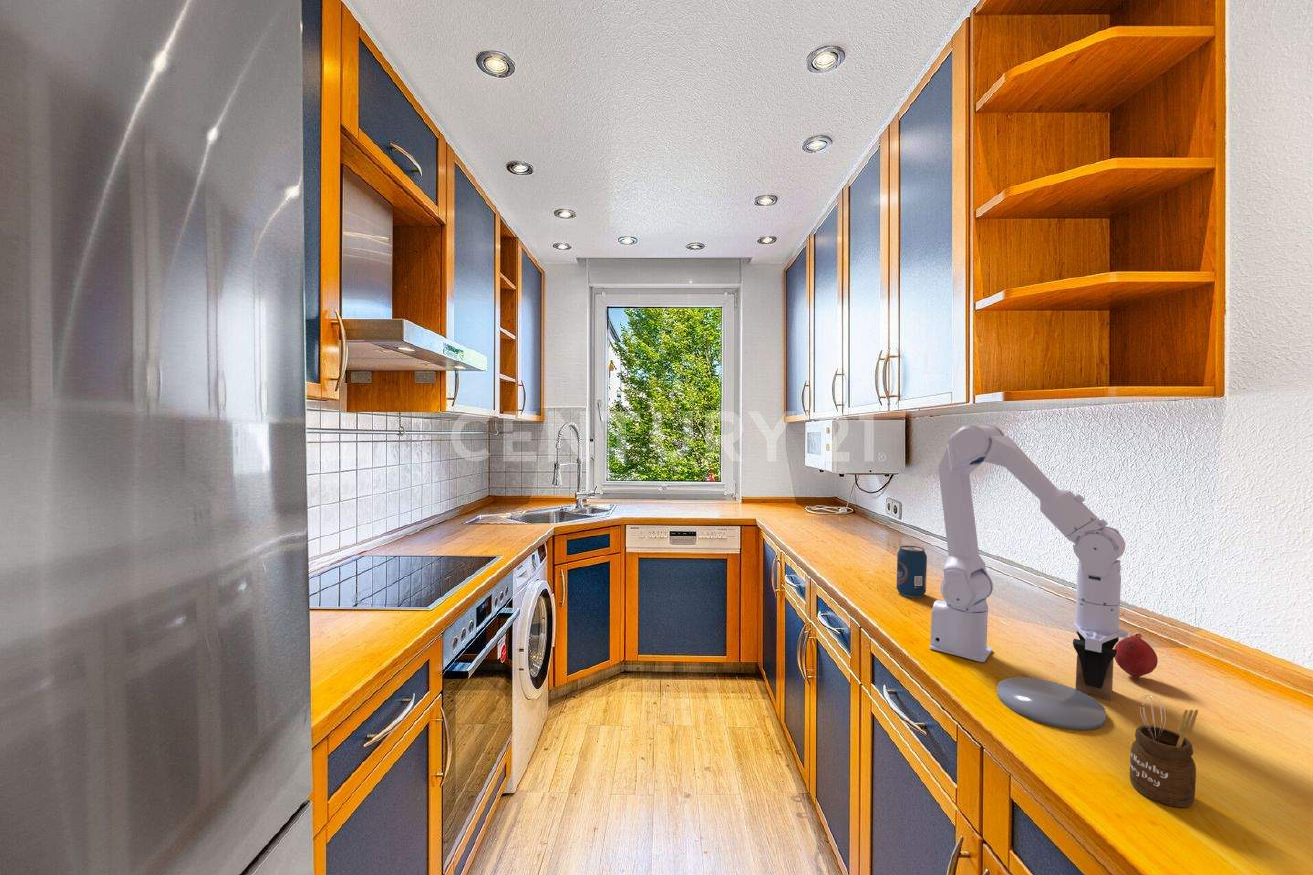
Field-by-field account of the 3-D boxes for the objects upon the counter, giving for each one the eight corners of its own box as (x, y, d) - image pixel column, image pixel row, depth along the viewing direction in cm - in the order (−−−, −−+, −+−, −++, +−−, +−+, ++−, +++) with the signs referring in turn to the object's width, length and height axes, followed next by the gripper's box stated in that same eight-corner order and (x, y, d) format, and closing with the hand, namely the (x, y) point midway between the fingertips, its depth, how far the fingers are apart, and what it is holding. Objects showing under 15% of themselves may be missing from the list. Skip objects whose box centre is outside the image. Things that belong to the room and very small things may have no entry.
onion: (1139, 686, 95) (1142, 640, 95) (1104, 671, 101) (1106, 628, 100) (1164, 682, 97) (1166, 637, 96) (1128, 668, 102) (1130, 625, 102)
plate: (989, 706, 88) (989, 699, 88) (1006, 676, 98) (1006, 669, 98) (1103, 741, 79) (1103, 733, 79) (1108, 703, 89) (1108, 696, 89)
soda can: (891, 590, 147) (892, 544, 147) (916, 589, 148) (918, 544, 147) (904, 598, 140) (905, 551, 140) (931, 598, 141) (932, 551, 140)
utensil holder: (1161, 776, 71) (1165, 683, 71) (1211, 811, 65) (1217, 709, 64) (1116, 776, 71) (1120, 683, 71) (1162, 811, 65) (1167, 710, 64)
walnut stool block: (1075, 691, 93) (1076, 655, 93) (1078, 681, 97) (1079, 647, 97) (1110, 700, 90) (1112, 664, 90) (1112, 690, 94) (1113, 655, 94)
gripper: (1128, 617, 85) (1124, 705, 85) (1130, 595, 96) (1126, 673, 96) (1070, 606, 89) (1067, 690, 90) (1078, 586, 100) (1075, 661, 101)
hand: (1094, 680), depth 93 cm, fingers closed on walnut stool block, 5 cm apart
